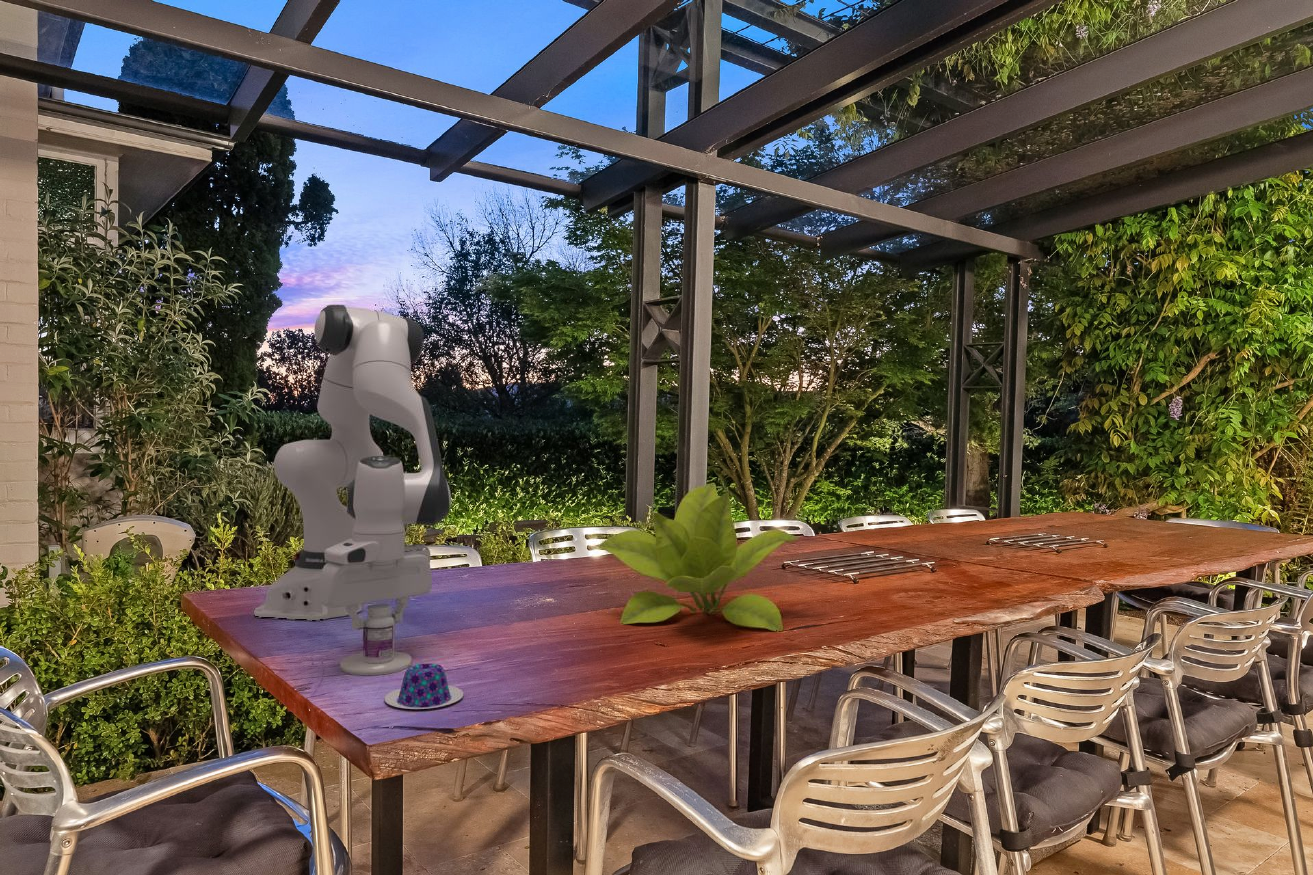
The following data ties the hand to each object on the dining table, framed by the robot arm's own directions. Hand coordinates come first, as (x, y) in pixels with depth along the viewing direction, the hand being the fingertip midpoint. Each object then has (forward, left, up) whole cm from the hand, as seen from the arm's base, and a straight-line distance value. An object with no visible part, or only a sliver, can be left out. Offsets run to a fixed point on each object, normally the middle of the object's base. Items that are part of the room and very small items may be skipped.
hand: (377, 625), depth 149 cm
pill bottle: (0, 0, -6) cm, 6 cm away
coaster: (0, 0, -7) cm, 7 cm away
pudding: (+12, -18, -8) cm, 23 cm away
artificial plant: (+62, +37, -7) cm, 72 cm away
